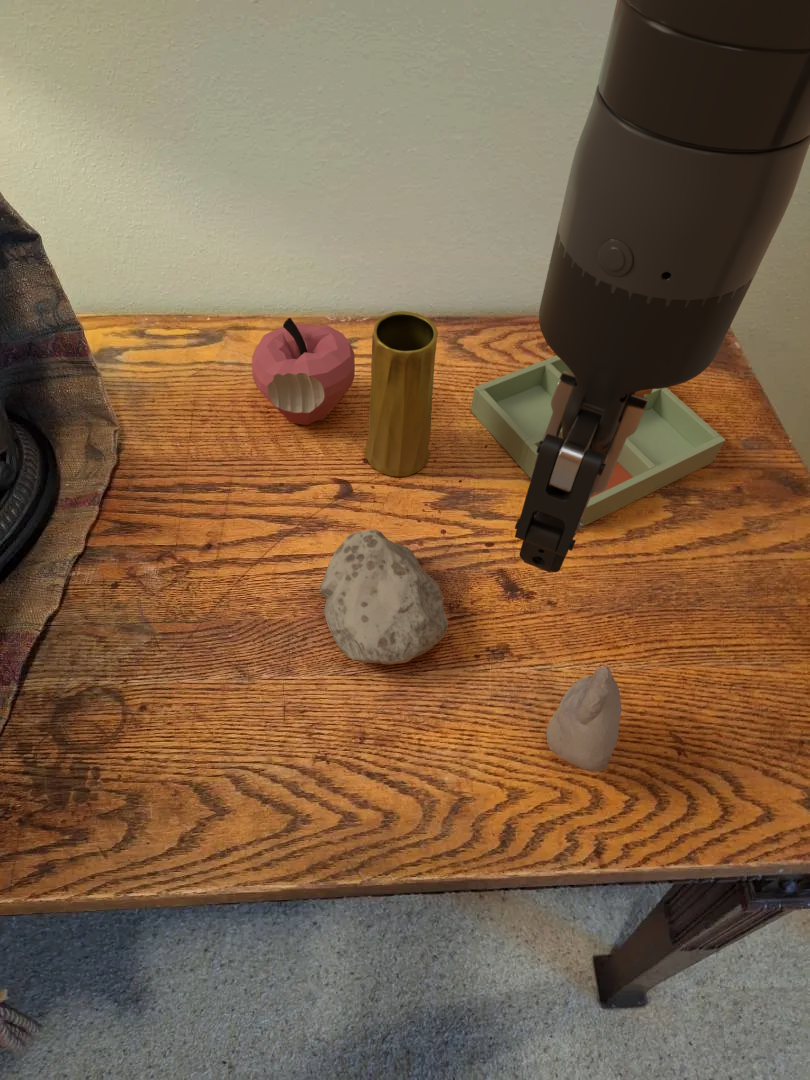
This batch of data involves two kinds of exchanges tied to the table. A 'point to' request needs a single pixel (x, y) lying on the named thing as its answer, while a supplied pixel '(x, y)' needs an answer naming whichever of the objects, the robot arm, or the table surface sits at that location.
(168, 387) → the table surface
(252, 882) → the table surface
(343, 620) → the decorative stone
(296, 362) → the apple
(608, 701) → the grey brown rock
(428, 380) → the vase
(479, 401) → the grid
